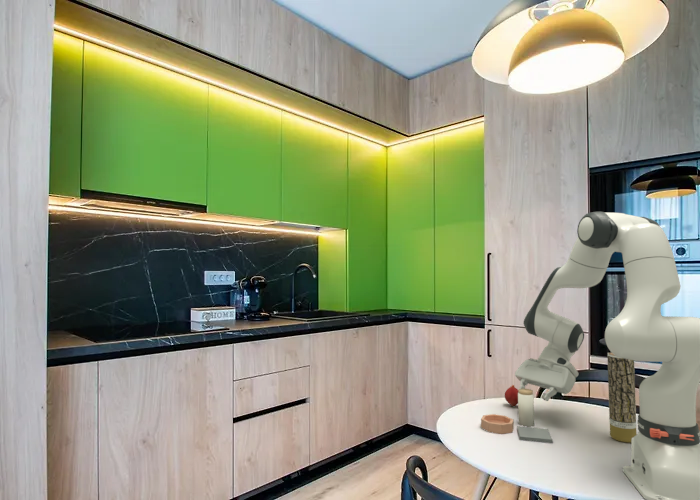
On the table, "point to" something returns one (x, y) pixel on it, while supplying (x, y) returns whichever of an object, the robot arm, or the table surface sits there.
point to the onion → (512, 395)
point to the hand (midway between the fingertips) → (532, 395)
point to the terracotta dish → (497, 423)
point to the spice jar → (526, 407)
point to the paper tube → (621, 398)
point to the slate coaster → (534, 434)
